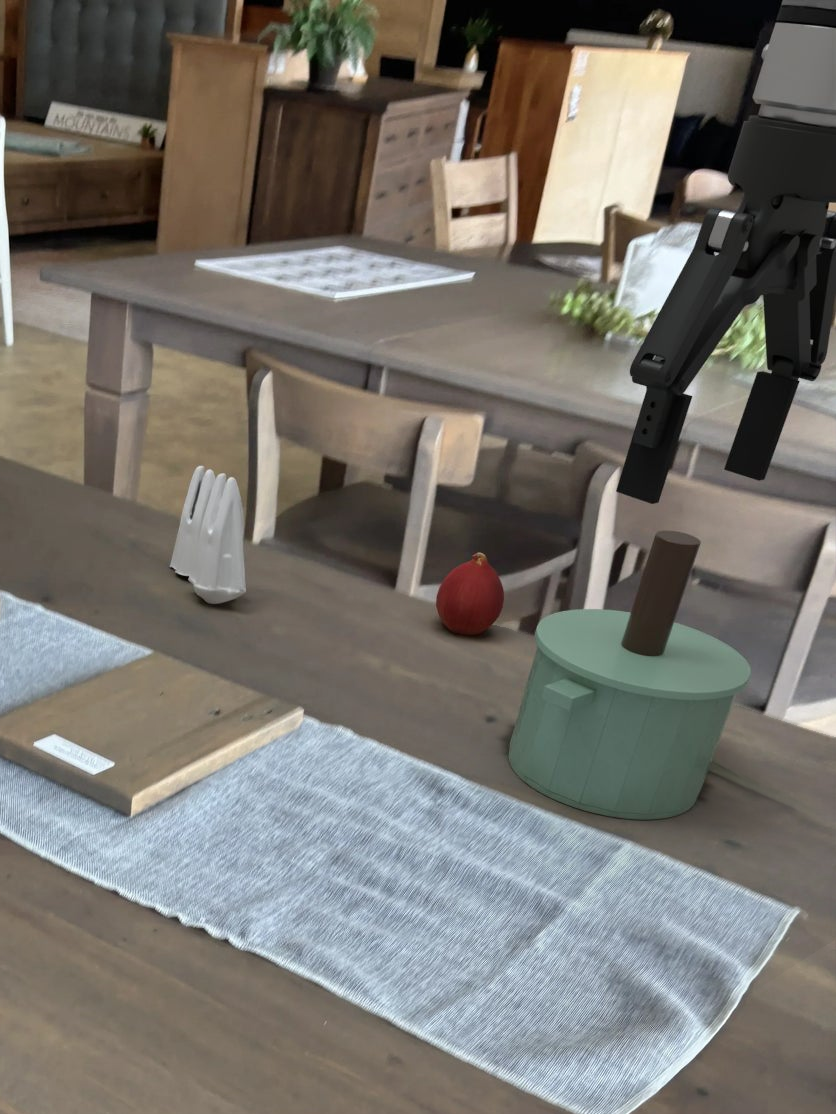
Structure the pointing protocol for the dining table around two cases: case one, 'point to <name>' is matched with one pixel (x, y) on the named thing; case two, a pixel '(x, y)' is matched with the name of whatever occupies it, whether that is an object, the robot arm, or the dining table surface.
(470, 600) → the onion
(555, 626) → the lid
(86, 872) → the dining table surface
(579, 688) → the pot
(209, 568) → the gray pronged block
